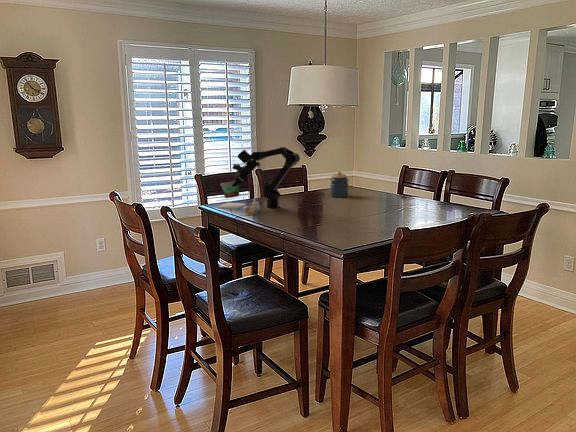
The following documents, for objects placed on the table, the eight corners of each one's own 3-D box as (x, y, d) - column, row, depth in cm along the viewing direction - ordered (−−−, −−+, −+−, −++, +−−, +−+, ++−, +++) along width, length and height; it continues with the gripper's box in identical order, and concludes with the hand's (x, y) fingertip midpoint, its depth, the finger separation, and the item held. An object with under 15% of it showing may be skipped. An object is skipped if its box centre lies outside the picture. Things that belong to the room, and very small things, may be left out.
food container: (222, 199, 292) (220, 183, 291) (222, 198, 298) (219, 182, 297) (242, 196, 294) (239, 180, 292) (241, 195, 300) (239, 179, 298)
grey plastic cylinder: (260, 210, 286) (260, 202, 285) (257, 211, 281) (257, 203, 280) (253, 209, 287) (252, 201, 286) (250, 211, 283) (249, 203, 282)
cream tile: (245, 205, 303) (245, 203, 302) (236, 209, 290) (236, 207, 289) (227, 204, 307) (227, 202, 306) (218, 208, 294) (218, 206, 293)
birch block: (254, 214, 275) (254, 206, 274) (251, 215, 271) (251, 207, 270) (247, 213, 277) (247, 206, 276) (244, 215, 272) (244, 207, 271)
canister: (327, 195, 337) (327, 170, 334) (344, 194, 340) (345, 170, 337) (333, 198, 325) (333, 172, 321) (351, 197, 328) (351, 172, 324)
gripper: (237, 158, 302) (221, 175, 302) (241, 160, 284) (223, 179, 284) (250, 169, 305) (234, 187, 305) (254, 172, 287) (237, 191, 287)
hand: (232, 185), depth 295 cm, fingers closed on food container, 6 cm apart
